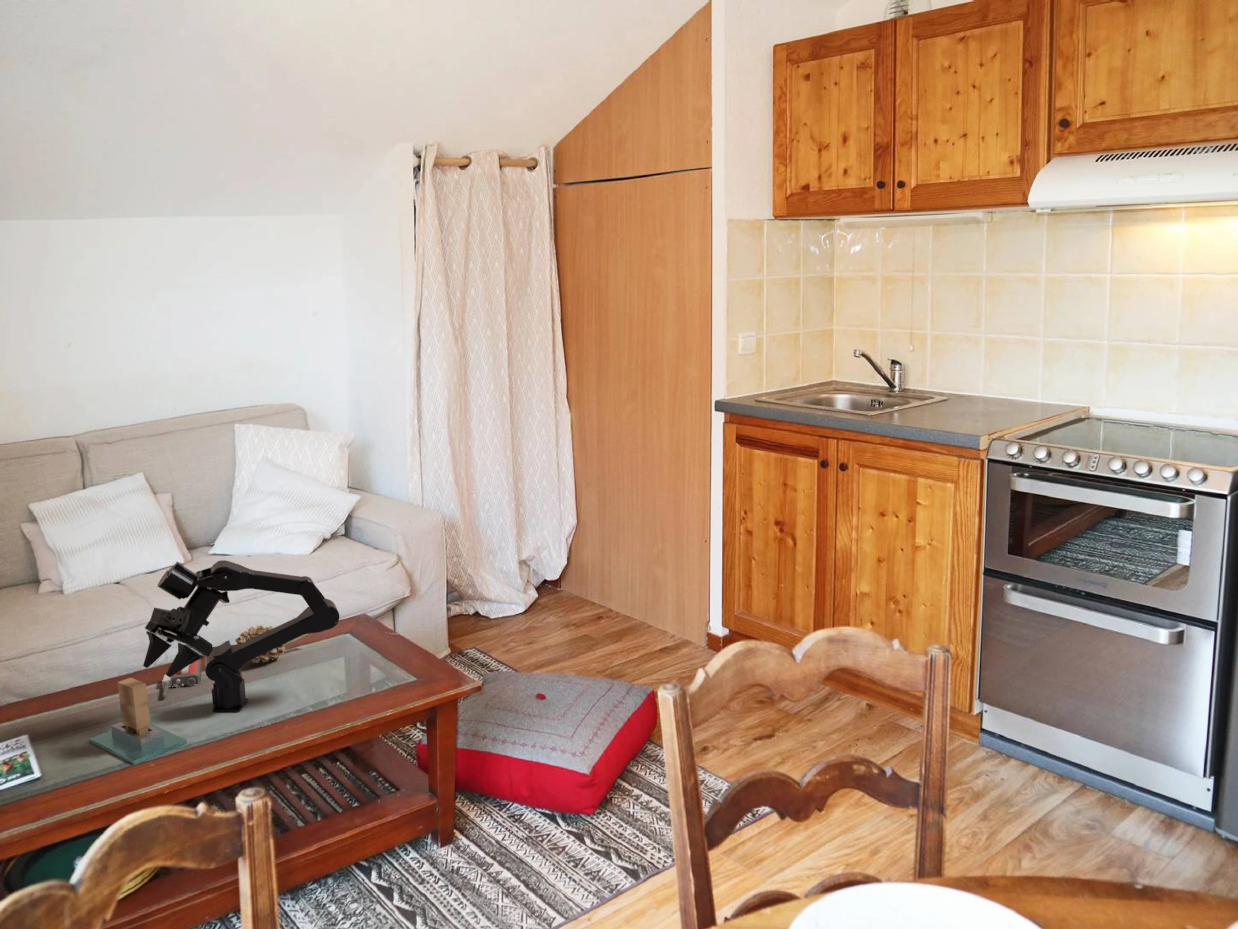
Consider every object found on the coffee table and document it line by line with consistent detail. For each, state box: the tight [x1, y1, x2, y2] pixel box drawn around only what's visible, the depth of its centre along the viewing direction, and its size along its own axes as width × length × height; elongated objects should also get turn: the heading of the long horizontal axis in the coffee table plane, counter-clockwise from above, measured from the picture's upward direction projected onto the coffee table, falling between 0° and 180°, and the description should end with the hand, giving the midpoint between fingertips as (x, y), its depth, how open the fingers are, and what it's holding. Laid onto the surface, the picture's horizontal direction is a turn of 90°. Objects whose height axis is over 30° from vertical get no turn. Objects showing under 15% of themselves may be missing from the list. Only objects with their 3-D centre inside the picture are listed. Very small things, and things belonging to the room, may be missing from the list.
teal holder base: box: [89, 721, 188, 765], centre depth 233 cm, size 18×12×3 cm, turn 53°
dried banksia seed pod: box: [235, 624, 310, 664], centre depth 281 cm, size 22×10×10 cm, turn 140°
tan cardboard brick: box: [117, 677, 151, 735], centre depth 232 cm, size 6×3×13 cm, turn 54°
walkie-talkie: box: [161, 659, 203, 699], centre depth 265 cm, size 9×4×20 cm
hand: (156, 671), depth 237 cm, fingers open, 9 cm apart
